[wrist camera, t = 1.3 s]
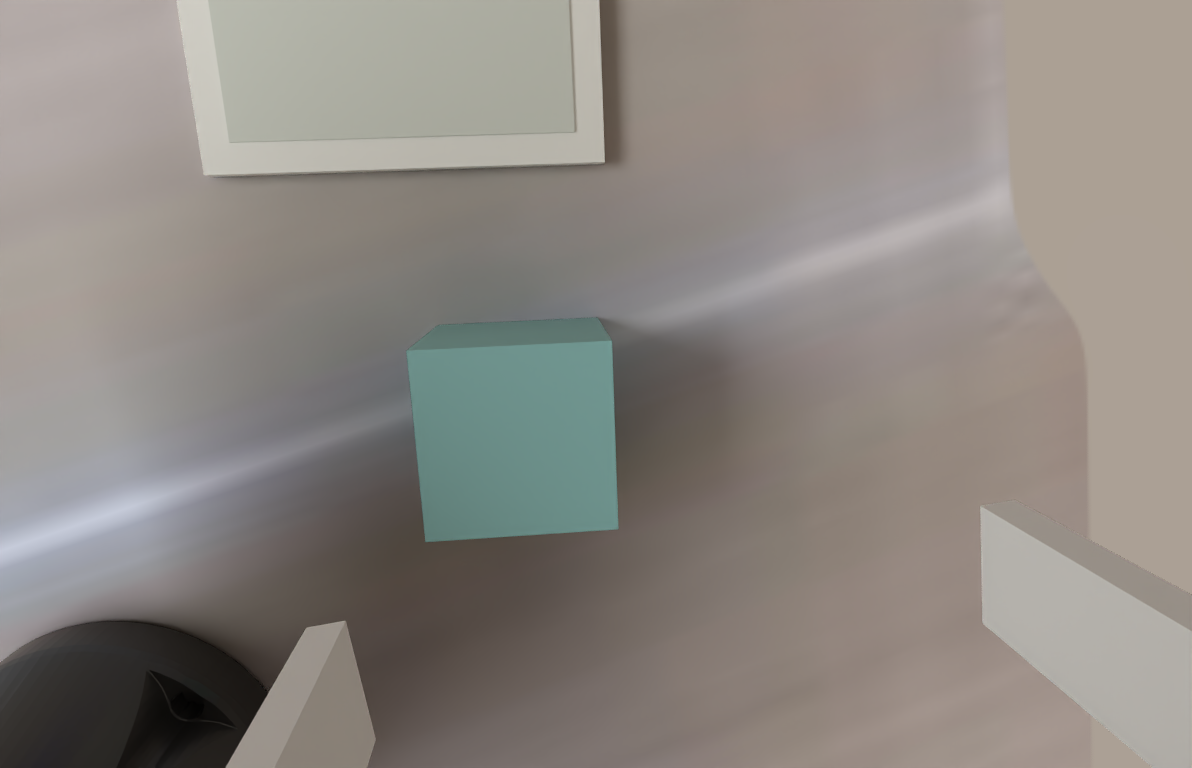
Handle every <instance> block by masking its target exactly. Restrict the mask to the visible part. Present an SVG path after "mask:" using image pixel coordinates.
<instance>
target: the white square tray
mask: <svg viewBox="0 0 1192 768" xmlns="http://www.w3.org/2000/svg"><path fill="white" fill-rule="evenodd" d="M176 2H177V8H178V14H179V21H180V27H181V33H182V40H183V46H184V52H185V59H186V65H187V71H188V78H189V84H190V90H191V97H192V103H193V109H194V115H195V122H196V128H197V134H198V141H199V147H200V153H201V160H202V166H203V172H204V176H210V177H233V176H263V175H293V174H323V173H353V172H383V171H413V170H443V169H473V168H502V167H532V166H562V165H592V164H604V163H605V153H604V124H603V95H602V66H601V37H600V8H599V0H176Z"/></svg>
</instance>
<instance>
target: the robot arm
mask: <svg viewBox="0 0 1192 768" xmlns="http://www.w3.org/2000/svg"><path fill="white" fill-rule="evenodd" d="M980 515H981V570H982V623H983V624H984V625H985V626H986V627H988V628H989V629H990V630H991V631H992V632H993V633H995V634H996V635H997V636H998V637H999V638H1001V639H1002V640H1003V641H1004V642H1005V643H1006V644H1008V645H1009V646H1010V647H1011V648H1012V649H1014V650H1015V651H1016V652H1017V653H1018V654H1019V655H1021V656H1022V657H1023V658H1024V659H1025V660H1026V661H1028V662H1029V663H1030V664H1031V665H1032V666H1034V667H1035V668H1036V669H1037V670H1038V671H1039V672H1041V673H1042V674H1043V675H1044V676H1045V677H1046V678H1048V679H1049V680H1050V681H1051V682H1052V683H1054V684H1055V685H1056V686H1057V687H1058V688H1059V689H1061V690H1062V691H1063V692H1064V693H1065V694H1066V695H1068V696H1069V697H1070V698H1071V699H1072V700H1074V701H1075V702H1076V703H1077V704H1078V705H1079V706H1081V707H1082V708H1083V709H1084V710H1085V711H1086V712H1088V713H1089V714H1090V715H1091V716H1092V717H1094V718H1095V719H1096V720H1097V721H1098V722H1100V723H1101V724H1102V725H1103V726H1104V727H1105V728H1107V729H1108V730H1109V731H1110V732H1111V733H1113V734H1114V735H1115V736H1116V737H1117V738H1118V739H1120V740H1121V741H1122V742H1123V743H1124V744H1125V745H1127V746H1128V747H1129V748H1130V749H1131V750H1132V751H1134V752H1135V753H1136V754H1137V755H1139V756H1140V757H1141V758H1142V759H1143V760H1144V761H1145V762H1147V763H1148V764H1149V765H1150V766H1151V767H1152V768H1192V594H1190V593H1188V592H1186V591H1184V590H1182V589H1180V588H1179V587H1177V586H1175V585H1173V584H1171V583H1169V582H1167V581H1165V580H1164V579H1162V578H1160V577H1158V576H1156V575H1154V574H1152V573H1151V572H1149V571H1147V570H1145V569H1143V568H1141V567H1139V566H1138V565H1136V564H1134V563H1132V562H1130V561H1128V560H1126V559H1125V558H1123V557H1121V556H1119V555H1117V554H1115V553H1113V552H1112V551H1110V550H1108V549H1106V548H1104V547H1102V546H1100V545H1099V544H1097V543H1095V542H1093V541H1091V540H1089V539H1087V538H1085V537H1084V536H1082V535H1080V534H1078V533H1076V532H1074V531H1072V530H1071V529H1069V528H1067V527H1065V526H1063V525H1061V524H1059V523H1058V522H1056V521H1054V520H1052V519H1050V518H1048V517H1046V516H1045V515H1043V514H1041V513H1039V512H1037V511H1035V510H1033V509H1032V508H1030V507H1028V506H1026V505H1024V504H1022V503H1020V502H1019V501H1017V500H1011V501H1005V502H999V503H994V504H988V505H983V506H980ZM375 741H376V738H375V734H374V730H373V726H372V722H371V718H370V714H369V710H368V706H367V702H366V698H365V694H364V691H363V687H362V683H361V679H360V675H359V671H358V667H357V663H356V659H355V655H354V651H353V647H352V643H351V639H350V635H349V632H348V628H347V624H346V621H340V622H334V623H329V624H323V625H318V626H312V627H307V628H306V629H305V631H304V632H303V634H302V636H301V638H300V639H299V641H298V643H297V645H296V646H295V648H294V650H293V651H292V653H291V655H290V657H289V658H288V660H287V662H286V664H285V665H284V667H283V669H282V671H281V672H280V674H279V676H278V677H277V679H276V681H275V683H274V684H273V686H272V688H271V690H270V691H269V693H268V694H267V692H266V691H265V690H264V689H263V687H262V686H261V685H260V684H259V682H258V681H257V680H256V679H255V678H254V677H253V676H252V675H251V674H250V673H249V672H248V671H246V670H245V669H244V668H243V667H242V666H241V665H240V664H238V663H237V662H236V661H234V660H233V659H232V658H230V657H229V656H227V655H226V654H224V653H223V652H221V651H220V650H218V649H216V648H214V647H213V646H211V645H209V644H207V643H205V642H203V641H201V640H199V639H196V638H194V637H192V636H189V635H186V634H184V633H181V632H178V631H175V630H171V629H168V628H164V627H159V626H154V625H149V624H142V623H133V622H98V623H88V624H82V625H77V626H72V627H68V628H64V629H61V630H58V631H55V632H52V633H49V634H47V635H44V636H42V637H39V638H37V639H35V640H33V641H31V642H29V643H28V644H26V645H24V646H22V647H21V648H19V649H18V650H16V651H15V652H14V653H12V654H11V655H9V656H8V657H7V658H6V659H4V660H3V661H2V662H0V768H367V767H368V764H369V760H370V757H371V754H372V751H373V747H374V744H375Z"/></svg>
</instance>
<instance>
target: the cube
mask: <svg viewBox="0 0 1192 768" xmlns="http://www.w3.org/2000/svg"><path fill="white" fill-rule="evenodd" d="M406 354H407V364H408V373H409V383H410V393H411V403H412V413H413V423H414V433H415V443H416V453H417V463H418V473H419V483H420V493H421V503H422V513H423V523H424V533H425V542H435V541H450V540H465V539H480V538H495V537H510V536H525V535H540V534H555V533H570V532H585V531H600V530H615V529H618V503H617V474H616V444H615V415H614V385H613V355H612V340H611V338H610V337H609V335H608V334H607V332H606V330H605V329H604V327H603V326H602V324H601V322H600V321H599V319H598V318H597V317H596V318H575V319H554V320H533V321H512V322H490V323H469V324H448V325H438V326H436V327H435V328H434V329H433V330H431V331H430V332H429V333H428V334H426V335H425V336H424V337H423V338H421V339H420V340H419V341H418V342H417V343H415V344H414V345H413V346H412V347H410V348H409V349H408V350H407V351H406Z"/></svg>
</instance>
